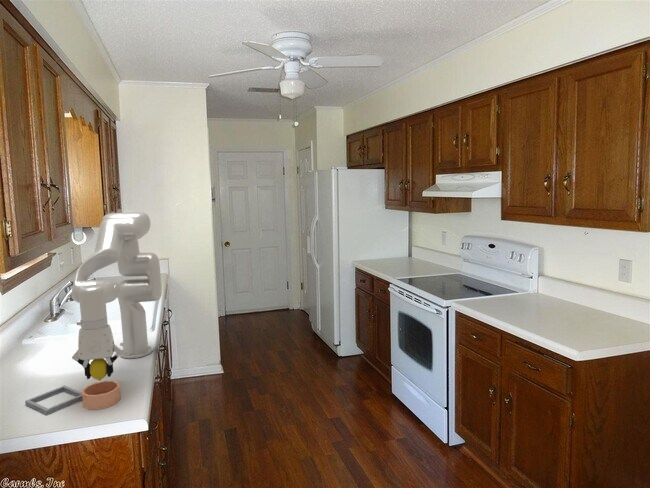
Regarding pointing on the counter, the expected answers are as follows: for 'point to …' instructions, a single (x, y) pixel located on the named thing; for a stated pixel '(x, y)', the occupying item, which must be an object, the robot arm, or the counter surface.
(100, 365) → the lemon
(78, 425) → the counter surface
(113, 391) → the bowl
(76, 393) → the gray square frame
